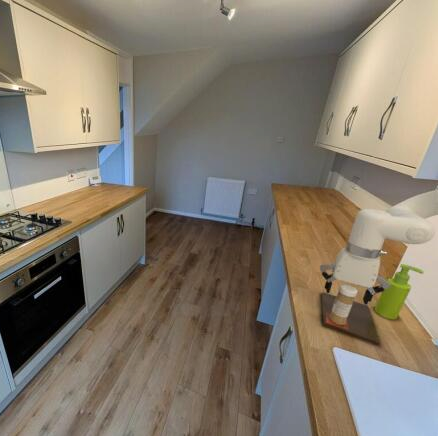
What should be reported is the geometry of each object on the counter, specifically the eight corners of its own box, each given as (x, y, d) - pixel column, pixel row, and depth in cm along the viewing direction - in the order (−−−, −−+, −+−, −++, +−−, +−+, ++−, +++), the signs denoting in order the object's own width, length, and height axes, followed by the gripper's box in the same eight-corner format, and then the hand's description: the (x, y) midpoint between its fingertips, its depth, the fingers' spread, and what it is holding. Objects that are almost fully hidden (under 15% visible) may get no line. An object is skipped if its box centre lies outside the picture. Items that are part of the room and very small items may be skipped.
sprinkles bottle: (332, 314, 84) (344, 282, 79) (348, 322, 80) (360, 289, 75) (326, 318, 82) (337, 286, 77) (341, 327, 78) (354, 293, 73)
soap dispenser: (399, 323, 82) (423, 274, 75) (373, 312, 87) (393, 265, 80) (402, 315, 85) (425, 267, 78) (376, 305, 90) (395, 259, 83)
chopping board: (321, 294, 96) (322, 291, 96) (367, 308, 89) (368, 305, 88) (323, 325, 80) (324, 322, 80) (378, 345, 73) (379, 342, 73)
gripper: (398, 252, 70) (378, 300, 76) (327, 238, 79) (314, 281, 85) (405, 263, 64) (383, 314, 70) (327, 246, 73) (313, 292, 79)
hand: (345, 296), depth 77 cm, fingers open, 9 cm apart
